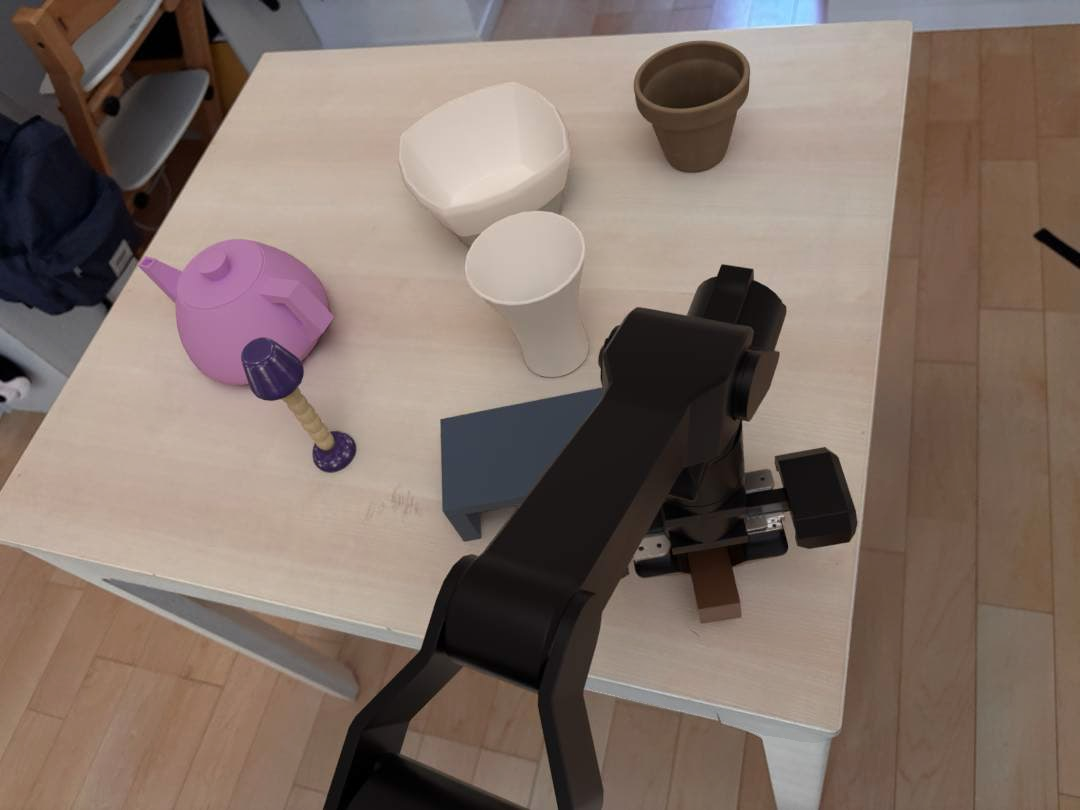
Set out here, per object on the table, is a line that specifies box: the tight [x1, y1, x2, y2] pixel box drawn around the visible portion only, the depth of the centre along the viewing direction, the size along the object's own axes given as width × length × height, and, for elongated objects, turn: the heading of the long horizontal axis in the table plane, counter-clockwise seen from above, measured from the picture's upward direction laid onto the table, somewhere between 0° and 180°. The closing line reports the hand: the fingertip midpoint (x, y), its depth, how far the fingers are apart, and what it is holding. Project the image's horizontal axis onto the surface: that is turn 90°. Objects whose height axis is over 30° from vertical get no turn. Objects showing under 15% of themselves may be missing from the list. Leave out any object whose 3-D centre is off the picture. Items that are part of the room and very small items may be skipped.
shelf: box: [440, 386, 602, 542], centre depth 73 cm, size 9×20×6 cm, turn 95°
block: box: [687, 546, 742, 625], centre depth 64 cm, size 8×3×3 cm, turn 5°
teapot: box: [137, 238, 335, 386], centre depth 89 cm, size 22×16×12 cm
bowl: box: [397, 81, 572, 249], centre depth 92 cm, size 18×18×9 cm
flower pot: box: [633, 40, 751, 173], centre depth 90 cm, size 12×11×10 cm
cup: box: [464, 211, 590, 378], centre depth 78 cm, size 10×10×14 cm
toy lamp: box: [241, 337, 357, 473], centre depth 76 cm, size 5×5×17 cm
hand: (709, 564), depth 64 cm, fingers closed on block, 3 cm apart
